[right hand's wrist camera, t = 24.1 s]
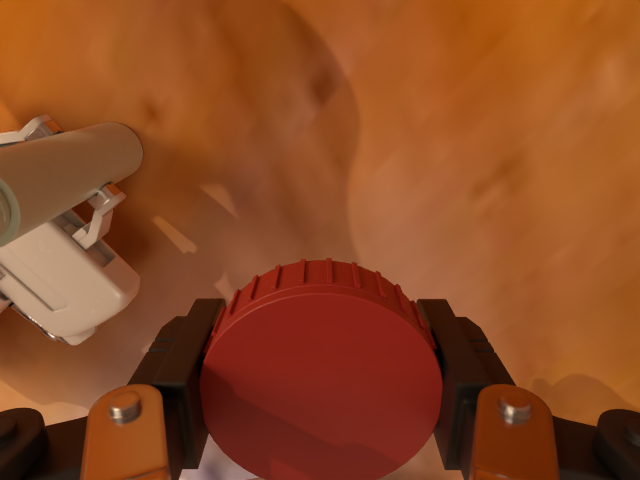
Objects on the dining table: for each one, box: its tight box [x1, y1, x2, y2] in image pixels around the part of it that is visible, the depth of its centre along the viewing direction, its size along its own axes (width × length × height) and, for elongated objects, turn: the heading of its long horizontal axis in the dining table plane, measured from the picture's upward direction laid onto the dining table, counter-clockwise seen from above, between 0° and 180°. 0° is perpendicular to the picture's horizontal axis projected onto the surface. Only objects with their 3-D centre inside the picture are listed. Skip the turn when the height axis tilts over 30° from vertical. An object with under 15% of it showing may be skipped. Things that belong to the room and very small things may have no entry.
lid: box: [199, 258, 443, 480], centre depth 10 cm, size 6×6×2 cm
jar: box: [0, 122, 143, 248], centre depth 29 cm, size 5×5×18 cm
